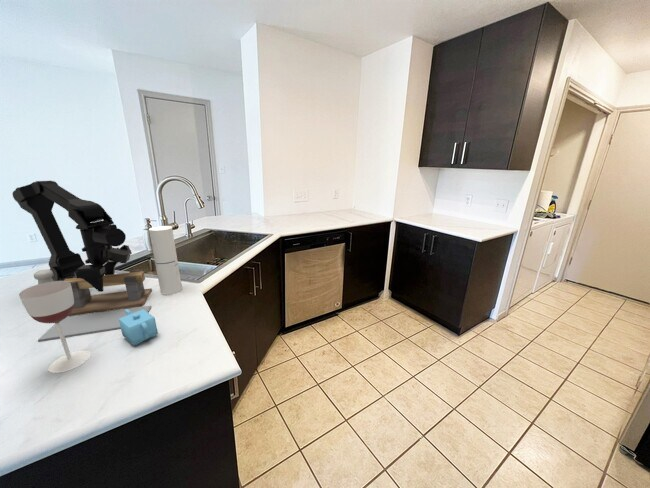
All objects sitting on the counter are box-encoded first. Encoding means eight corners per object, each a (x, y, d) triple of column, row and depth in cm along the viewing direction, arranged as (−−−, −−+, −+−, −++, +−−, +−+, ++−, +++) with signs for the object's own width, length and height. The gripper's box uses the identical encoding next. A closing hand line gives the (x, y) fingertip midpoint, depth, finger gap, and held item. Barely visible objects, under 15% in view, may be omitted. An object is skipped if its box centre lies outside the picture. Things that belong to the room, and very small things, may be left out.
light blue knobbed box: (118, 334, 74) (112, 311, 71) (142, 323, 78) (137, 302, 76) (136, 350, 67) (130, 326, 65) (161, 338, 72) (156, 315, 70)
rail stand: (80, 299, 91) (73, 273, 88) (152, 290, 98) (147, 266, 95) (60, 317, 80) (51, 289, 77) (142, 306, 88) (136, 279, 85)
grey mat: (62, 319, 79) (61, 317, 79) (151, 307, 87) (151, 305, 87) (38, 341, 70) (37, 339, 69) (141, 325, 77) (141, 323, 77)
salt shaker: (50, 311, 83) (37, 275, 79) (36, 309, 84) (23, 273, 80) (70, 302, 89) (59, 268, 85) (57, 300, 90) (46, 266, 86)
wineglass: (53, 379, 58) (24, 301, 52) (42, 363, 62) (14, 290, 56) (97, 358, 64) (76, 287, 58) (84, 345, 69) (63, 277, 63)
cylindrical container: (156, 292, 97) (144, 229, 90) (173, 284, 103) (163, 225, 96) (169, 296, 95) (158, 231, 87) (186, 288, 101) (176, 227, 93)
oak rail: (68, 287, 85) (65, 278, 84) (145, 278, 92) (143, 271, 91) (63, 291, 82) (60, 282, 82) (142, 282, 90) (141, 274, 89)
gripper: (113, 249, 77) (124, 295, 82) (134, 233, 94) (142, 272, 99) (67, 252, 73) (81, 300, 78) (97, 236, 90) (107, 276, 95)
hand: (106, 286), depth 87 cm, fingers open, 8 cm apart
